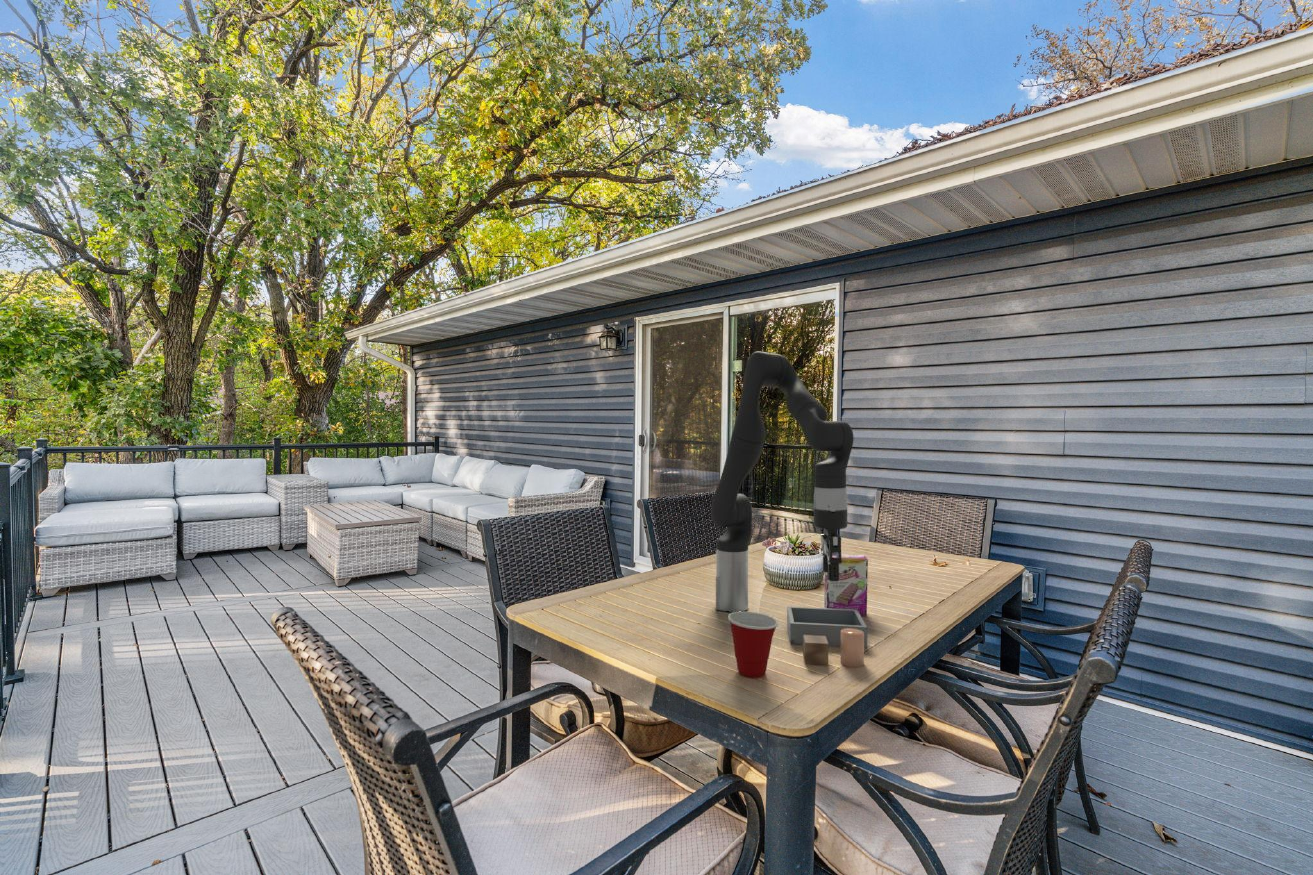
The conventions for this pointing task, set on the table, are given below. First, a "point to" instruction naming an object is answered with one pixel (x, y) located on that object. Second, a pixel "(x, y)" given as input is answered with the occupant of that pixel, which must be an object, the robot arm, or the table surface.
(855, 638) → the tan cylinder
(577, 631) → the table surface
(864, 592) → the candy bar box
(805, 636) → the walnut cube
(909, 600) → the table surface
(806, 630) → the gray tote
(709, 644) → the table surface
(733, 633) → the plastic cup
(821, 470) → the robot arm
